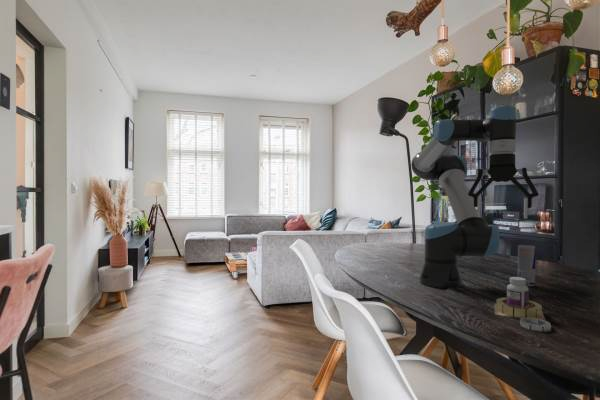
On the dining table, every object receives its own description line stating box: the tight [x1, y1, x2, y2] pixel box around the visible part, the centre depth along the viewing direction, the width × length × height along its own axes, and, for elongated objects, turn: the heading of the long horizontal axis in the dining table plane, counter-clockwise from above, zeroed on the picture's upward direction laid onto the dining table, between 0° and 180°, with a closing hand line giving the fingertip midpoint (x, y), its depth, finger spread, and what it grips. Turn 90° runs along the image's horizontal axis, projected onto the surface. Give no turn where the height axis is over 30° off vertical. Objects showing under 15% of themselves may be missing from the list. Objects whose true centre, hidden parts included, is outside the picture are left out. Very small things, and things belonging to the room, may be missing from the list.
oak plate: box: [493, 303, 547, 321], centre depth 102 cm, size 12×11×1 cm
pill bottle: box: [506, 276, 530, 308], centre depth 102 cm, size 5×5×10 cm
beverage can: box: [517, 244, 536, 287], centre depth 134 cm, size 6×6×15 cm
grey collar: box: [519, 317, 552, 333], centre depth 90 cm, size 6×6×2 cm
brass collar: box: [495, 297, 543, 319], centre depth 102 cm, size 11×11×2 cm
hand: (501, 217), depth 118 cm, fingers open, 13 cm apart
